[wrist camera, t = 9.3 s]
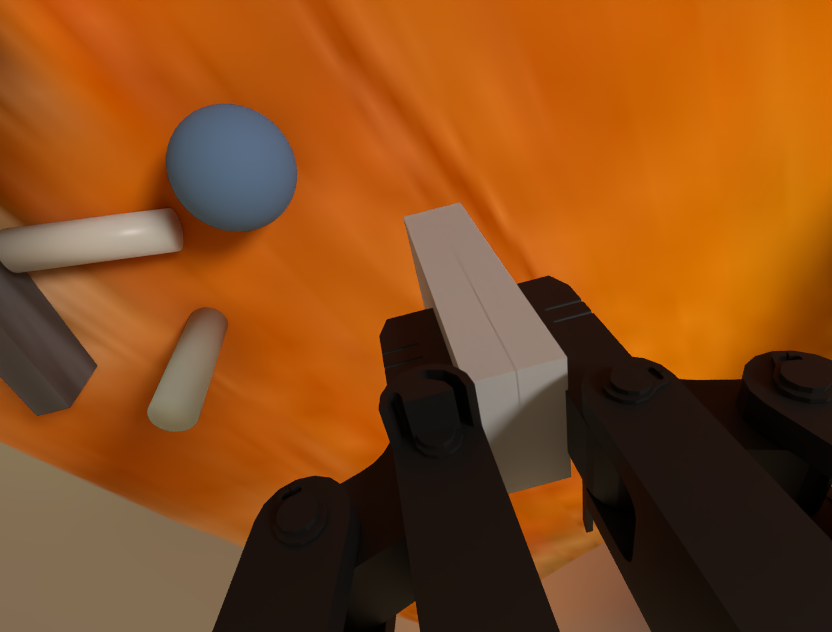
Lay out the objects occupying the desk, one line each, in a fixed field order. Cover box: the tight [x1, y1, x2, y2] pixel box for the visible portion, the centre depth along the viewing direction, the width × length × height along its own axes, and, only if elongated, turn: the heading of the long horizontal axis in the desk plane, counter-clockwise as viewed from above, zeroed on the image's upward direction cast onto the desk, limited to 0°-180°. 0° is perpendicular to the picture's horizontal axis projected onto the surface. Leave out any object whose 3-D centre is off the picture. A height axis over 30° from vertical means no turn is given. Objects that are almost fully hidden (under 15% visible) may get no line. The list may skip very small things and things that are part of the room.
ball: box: [166, 104, 297, 232], centre depth 24 cm, size 6×6×6 cm
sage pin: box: [147, 308, 228, 432], centre depth 28 cm, size 2×2×8 cm
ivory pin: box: [0, 208, 184, 273], centre depth 26 cm, size 2×2×8 cm
